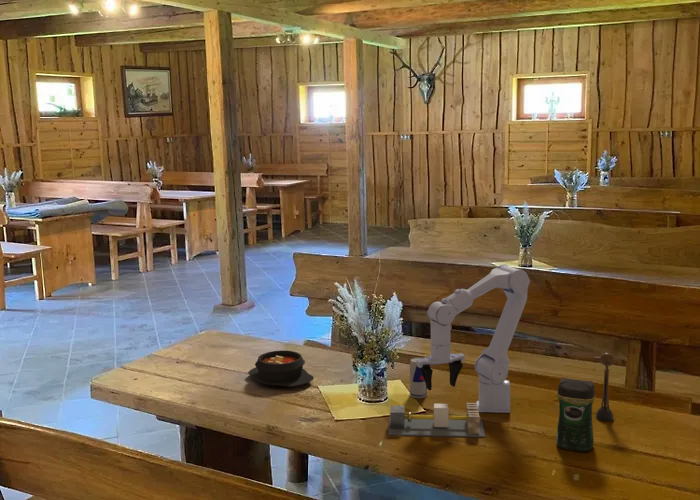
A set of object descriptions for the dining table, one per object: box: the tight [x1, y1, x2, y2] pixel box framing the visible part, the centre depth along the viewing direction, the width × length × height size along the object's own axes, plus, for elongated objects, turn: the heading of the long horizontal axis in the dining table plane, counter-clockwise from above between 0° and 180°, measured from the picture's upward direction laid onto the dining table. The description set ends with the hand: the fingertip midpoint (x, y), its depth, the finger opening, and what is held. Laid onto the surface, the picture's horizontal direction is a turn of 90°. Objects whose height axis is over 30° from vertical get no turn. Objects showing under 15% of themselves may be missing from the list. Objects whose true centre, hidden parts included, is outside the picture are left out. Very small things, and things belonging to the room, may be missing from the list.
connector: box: [389, 405, 412, 429], centre depth 212 cm, size 6×5×5 cm
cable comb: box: [465, 402, 481, 434], centre depth 210 cm, size 3×10×5 cm, turn 175°
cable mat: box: [387, 417, 486, 438], centre depth 212 cm, size 27×12×1 cm, turn 85°
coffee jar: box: [555, 377, 596, 453], centre depth 197 cm, size 10×8×19 cm
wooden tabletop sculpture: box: [594, 352, 615, 422], centre depth 214 cm, size 6×5×20 cm
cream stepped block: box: [433, 403, 449, 427], centre depth 211 cm, size 4×4×6 cm
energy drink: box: [409, 356, 428, 399], centre depth 235 cm, size 5×5×12 cm
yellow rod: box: [404, 414, 468, 420], centre depth 211 cm, size 22×1×1 cm, turn 85°
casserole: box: [247, 350, 315, 388], centre depth 251 cm, size 25×19×8 cm
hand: (440, 387), depth 217 cm, fingers open, 7 cm apart
